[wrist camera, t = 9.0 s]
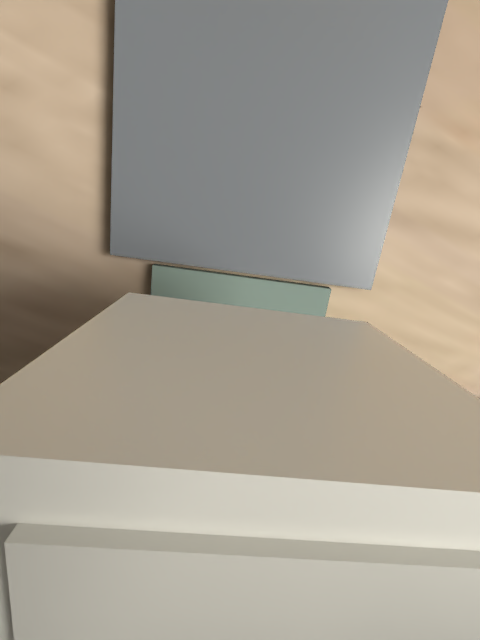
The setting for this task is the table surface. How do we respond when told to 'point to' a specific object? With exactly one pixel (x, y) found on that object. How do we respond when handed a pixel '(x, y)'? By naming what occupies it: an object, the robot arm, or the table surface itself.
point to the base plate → (265, 131)
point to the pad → (239, 290)
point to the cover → (236, 482)
